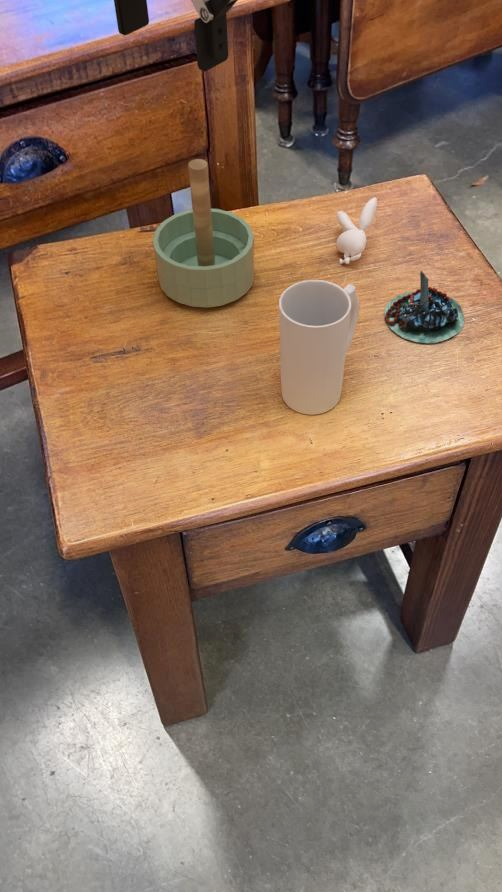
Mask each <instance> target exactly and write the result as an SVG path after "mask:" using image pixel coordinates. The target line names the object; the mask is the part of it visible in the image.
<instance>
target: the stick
mask: <svg viewBox="0 0 502 892" xmlns="http://www.w3.org/2000/svg"><path fill="white" fill-rule="evenodd" d="M187 168H188V176H189V186H190V187H189V188H190V197H191V207H192V209H193V219H194V230H195V240H196V250H197V261H198V266H204V267H205V266H211V265H215V254H214V241H213V228H212V215H211V209H212V207H211V203H212V202H211V191H210V190H211V189H210V178H209V164H208V162H207V161H206V160H205V159H203V158H196V159H192V160H190V161H189V162H188V164H187ZM192 209H191V210H192Z"/></svg>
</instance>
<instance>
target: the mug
mask: <svg viewBox="0 0 502 892" xmlns="http://www.w3.org/2000/svg"><path fill="white" fill-rule="evenodd" d="M356 290H357V289H356V286H355V285H353V284H351V283H348V284H347V285H346V286H344V287H341V286H340V285H338V284H336V283H334V282H331V281H328V280H322V279H307V280H302V281H298V282H295V283H293V284H292V285H290V286H288V287H287V288H286V289H285V290H284V291H282V293H281V294H280V296H279V300H278V311H279V312H278V314H279V315H278V318H279V319H278V327H279V328H278V329H279V330H278V331H279V363H280V365H279V366H280V386H281V387H280V388H281V389H280V390H281V391H280V392H281V396H282V400H283V402H284V403H285V405H286V406H287V407H288V408H289V409H291V410H293V411H294V412H297V413H299V414H302V415H303V414H304V415H311V416H312V415H313V416H314V415H322V414H325V413H327V412H330V411H331V410H332V409H333V408H335V407H336V406H337V405H338V403H339V402H340V399H341V396H342V390H343V389H342V388H343V381H344V376H345V365H346V357H347V353H348V352H349V351H350V349H351V346H352V343H353V340H354V336H355V333H356V329H357V325H358V320H359V316H360V302H359V301H360V300H359V298H358V295H357V292H356Z"/></svg>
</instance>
